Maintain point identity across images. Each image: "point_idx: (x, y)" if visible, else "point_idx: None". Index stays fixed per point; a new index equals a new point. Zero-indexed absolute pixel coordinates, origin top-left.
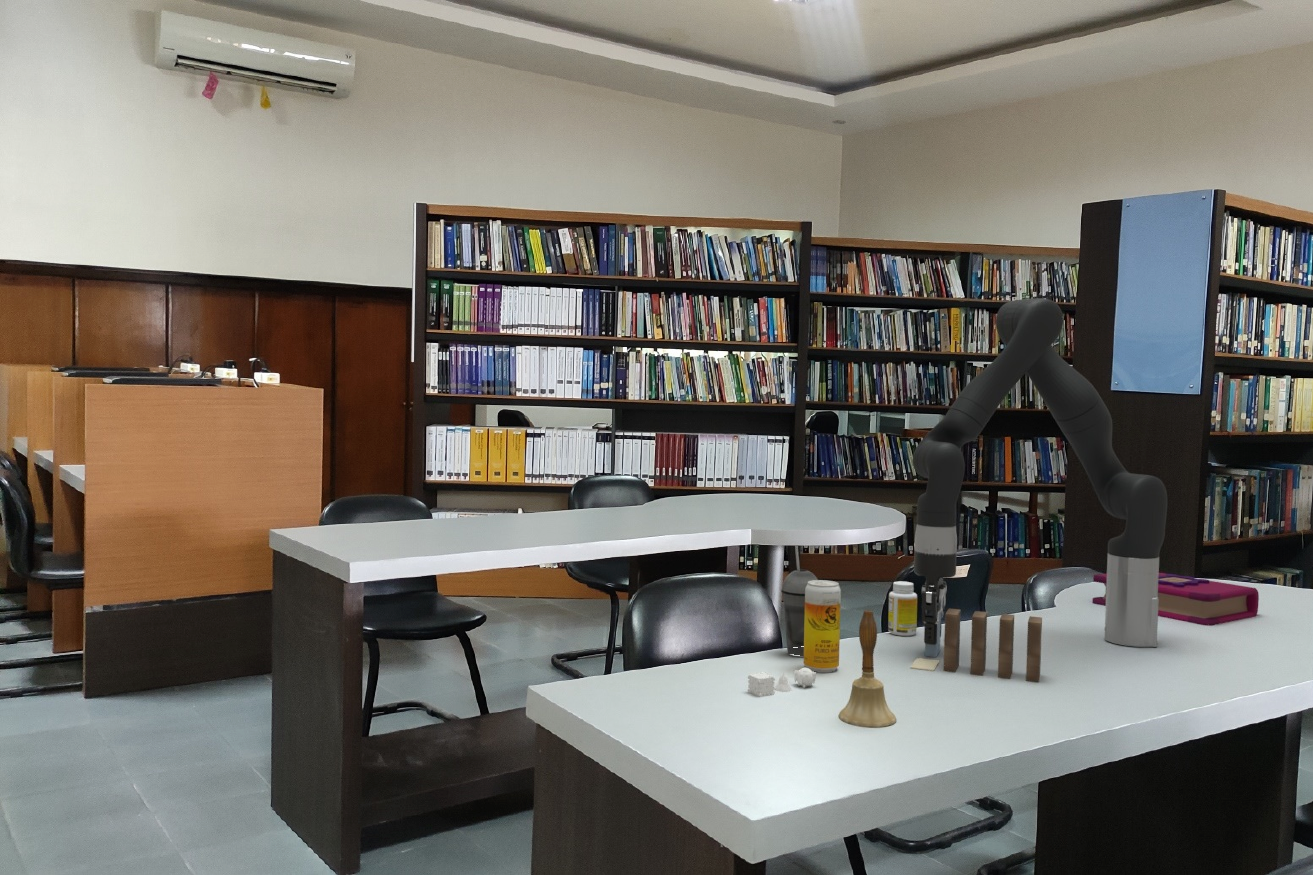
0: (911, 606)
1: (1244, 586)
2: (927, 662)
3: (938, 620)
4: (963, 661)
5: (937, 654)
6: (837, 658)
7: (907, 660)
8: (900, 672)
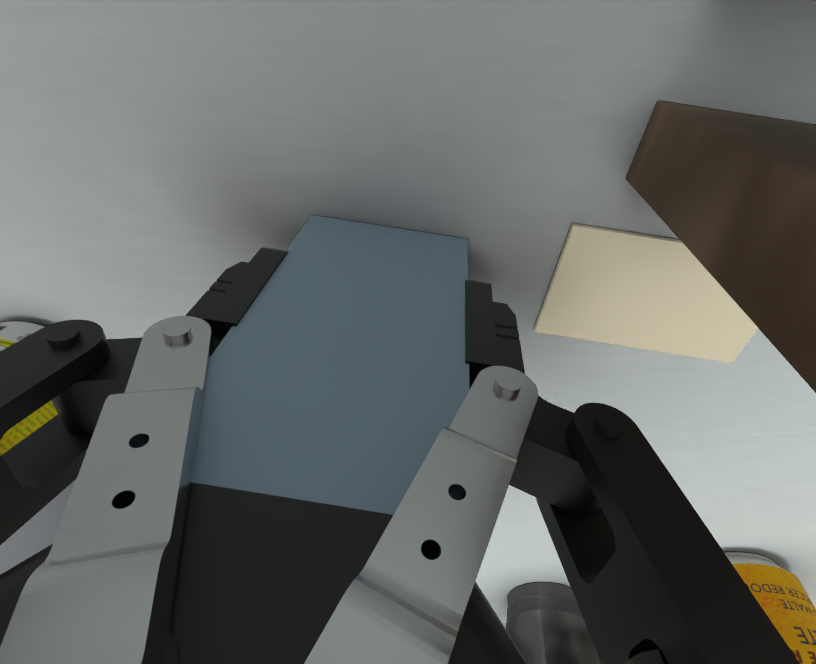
0: None
1: None
2: (629, 288)
3: (510, 386)
4: (530, 62)
5: (407, 230)
6: (797, 599)
7: (567, 363)
8: (807, 395)
